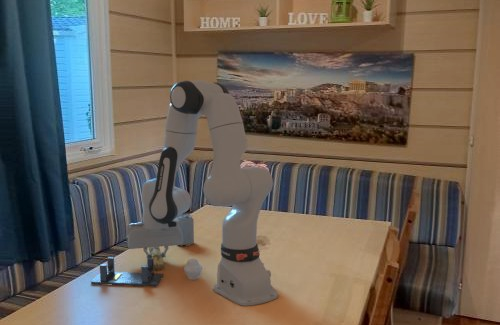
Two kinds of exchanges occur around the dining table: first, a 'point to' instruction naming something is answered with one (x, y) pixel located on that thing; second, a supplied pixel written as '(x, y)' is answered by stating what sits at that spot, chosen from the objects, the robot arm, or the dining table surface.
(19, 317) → the dining table surface
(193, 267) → the light grey rounded piece
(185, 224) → the can
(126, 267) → the dining table surface
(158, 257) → the tube
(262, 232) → the dining table surface
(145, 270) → the stand
